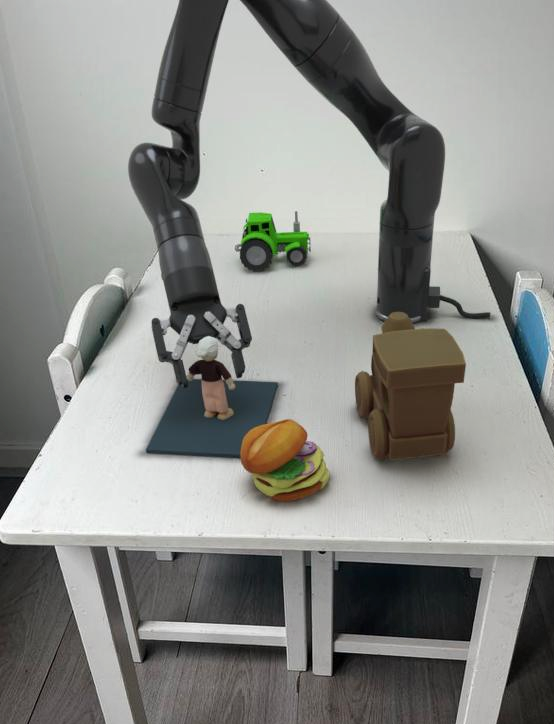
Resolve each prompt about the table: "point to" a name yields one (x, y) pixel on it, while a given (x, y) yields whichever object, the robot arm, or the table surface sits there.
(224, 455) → the mat
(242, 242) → the toy tractor
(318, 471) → the cheeseburger
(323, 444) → the table surface
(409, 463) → the table surface
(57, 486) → the table surface
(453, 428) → the wooden toy train
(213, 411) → the grandmother figurine
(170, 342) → the table surface
